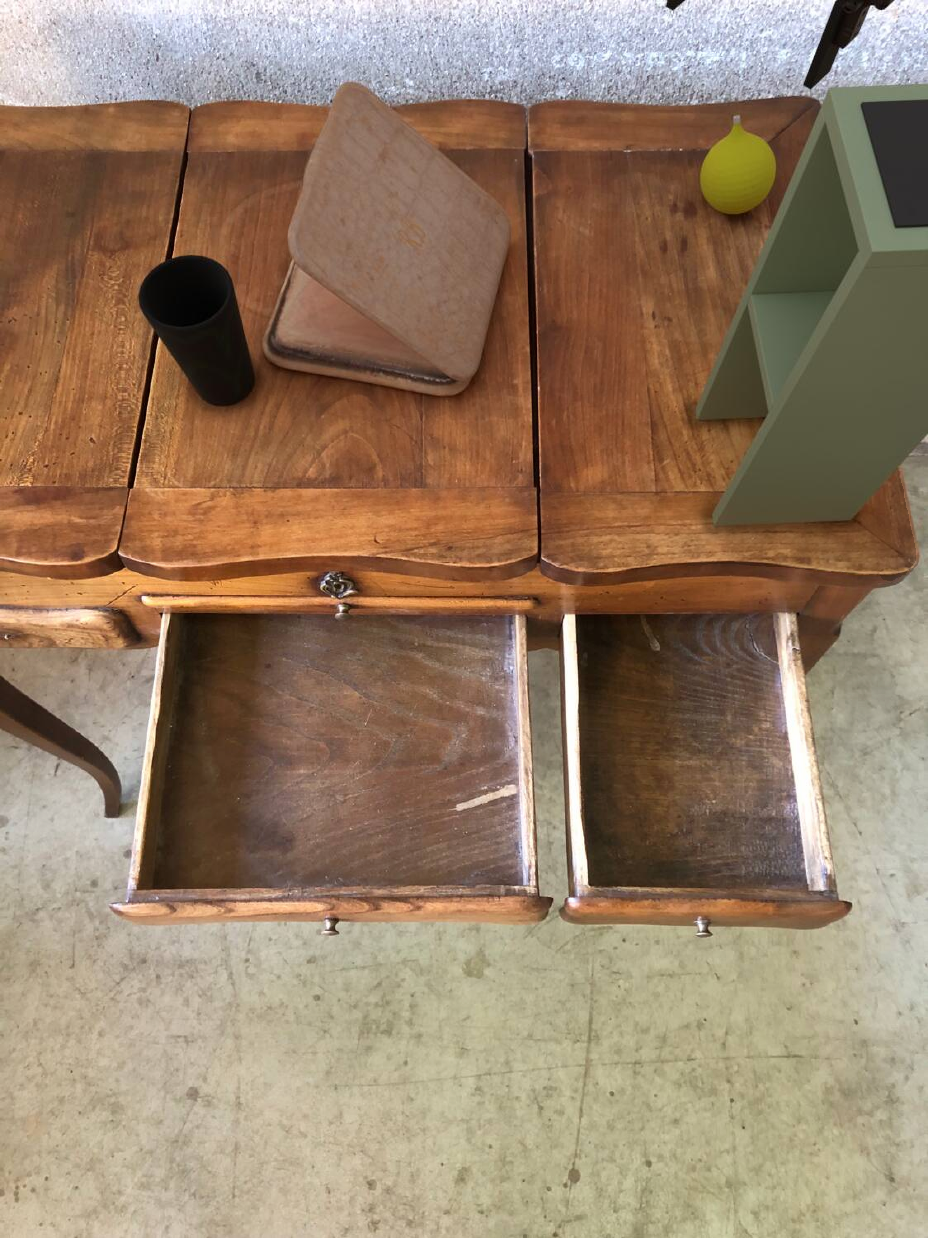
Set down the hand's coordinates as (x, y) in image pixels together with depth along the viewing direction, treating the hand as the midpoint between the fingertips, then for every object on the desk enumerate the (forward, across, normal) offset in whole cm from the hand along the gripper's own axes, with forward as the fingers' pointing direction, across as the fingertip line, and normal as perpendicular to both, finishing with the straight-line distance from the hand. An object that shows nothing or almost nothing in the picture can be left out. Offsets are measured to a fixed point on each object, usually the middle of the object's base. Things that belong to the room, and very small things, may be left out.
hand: (746, 38), depth 70 cm
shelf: (+18, +22, -18) cm, 34 cm away
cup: (+19, -21, -45) cm, 53 cm away
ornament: (+19, +2, +4) cm, 19 cm away
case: (+19, -16, -28) cm, 37 cm away
